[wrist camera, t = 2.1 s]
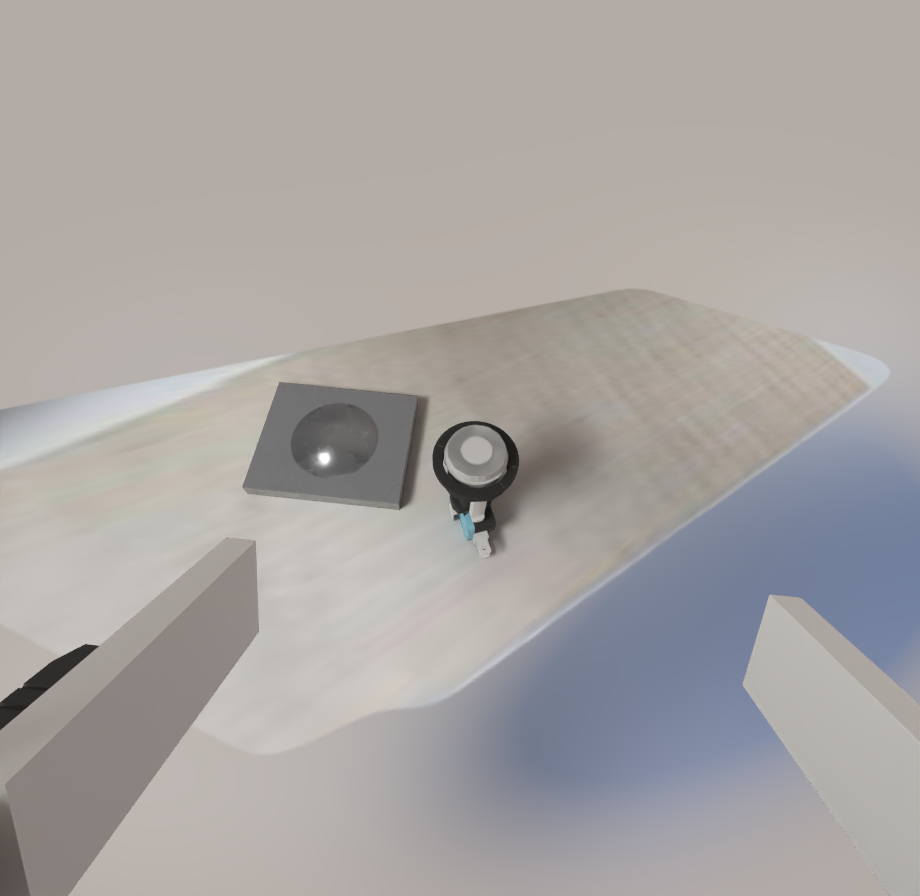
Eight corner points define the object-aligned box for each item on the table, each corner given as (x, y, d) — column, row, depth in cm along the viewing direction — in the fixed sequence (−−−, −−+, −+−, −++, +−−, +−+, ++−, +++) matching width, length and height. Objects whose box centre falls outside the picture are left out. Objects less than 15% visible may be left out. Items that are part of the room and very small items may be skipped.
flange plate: (247, 493, 37) (242, 487, 36) (283, 390, 42) (279, 382, 41) (399, 509, 37) (398, 503, 36) (417, 403, 42) (417, 396, 41)
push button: (517, 550, 36) (541, 499, 27) (449, 569, 35) (451, 522, 26) (491, 473, 39) (505, 404, 30) (427, 488, 38) (423, 422, 29)
